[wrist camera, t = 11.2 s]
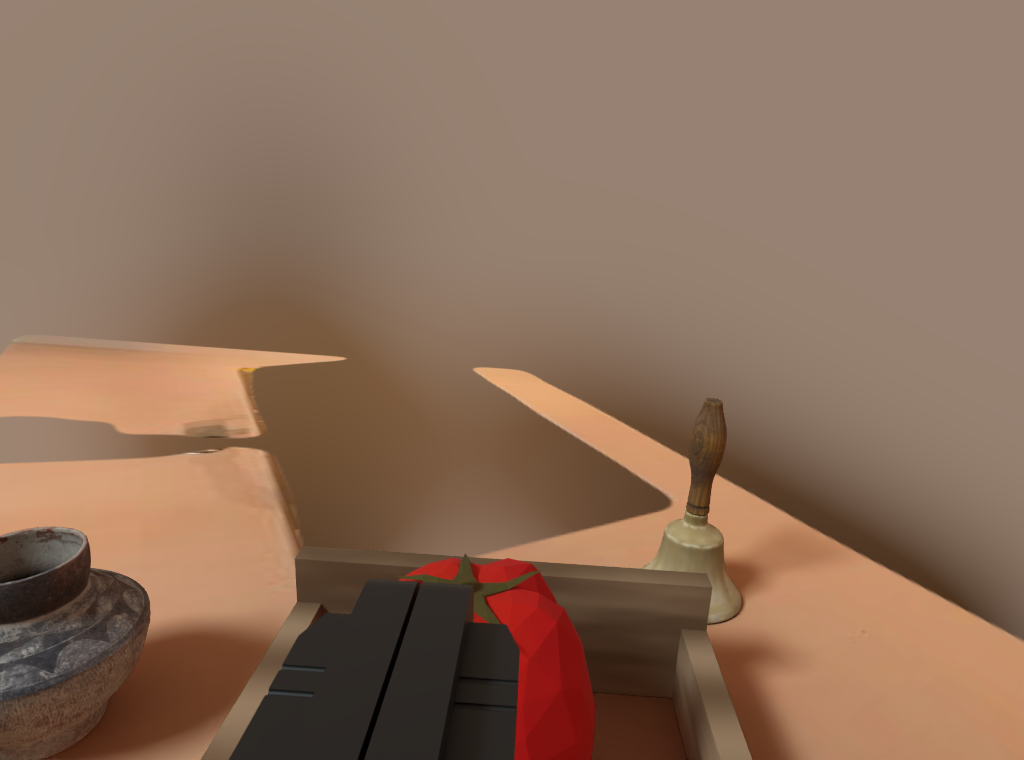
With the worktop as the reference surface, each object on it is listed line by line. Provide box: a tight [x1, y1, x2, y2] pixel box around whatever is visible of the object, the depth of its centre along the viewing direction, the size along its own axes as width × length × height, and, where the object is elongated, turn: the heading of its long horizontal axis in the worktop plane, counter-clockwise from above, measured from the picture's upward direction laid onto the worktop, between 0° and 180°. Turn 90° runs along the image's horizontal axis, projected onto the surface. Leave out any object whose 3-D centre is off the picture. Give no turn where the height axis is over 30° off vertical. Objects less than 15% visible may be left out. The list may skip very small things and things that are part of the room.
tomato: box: [397, 554, 595, 760], centre depth 32 cm, size 13×13×13 cm
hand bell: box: [642, 398, 742, 624], centre depth 51 cm, size 8×8×16 cm
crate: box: [201, 546, 752, 760], centre depth 35 cm, size 14×25×8 cm, turn 87°
